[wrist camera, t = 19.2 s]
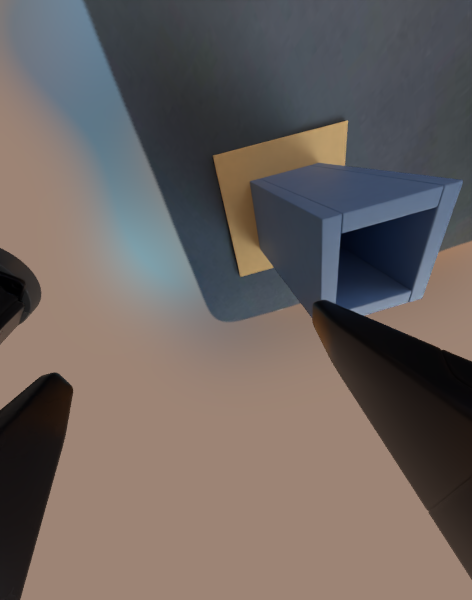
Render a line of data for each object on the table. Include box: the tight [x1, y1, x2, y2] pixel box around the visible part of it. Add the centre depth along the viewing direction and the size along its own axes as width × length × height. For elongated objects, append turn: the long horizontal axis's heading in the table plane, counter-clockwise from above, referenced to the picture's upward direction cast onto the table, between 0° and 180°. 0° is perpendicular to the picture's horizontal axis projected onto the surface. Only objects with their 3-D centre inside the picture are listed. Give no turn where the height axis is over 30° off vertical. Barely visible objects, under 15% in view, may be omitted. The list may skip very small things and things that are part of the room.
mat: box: [213, 121, 348, 277], centre depth 19 cm, size 10×10×1 cm
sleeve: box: [250, 163, 463, 317], centre depth 14 cm, size 6×6×11 cm
